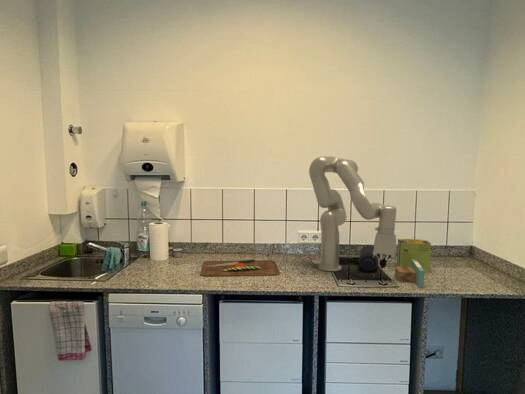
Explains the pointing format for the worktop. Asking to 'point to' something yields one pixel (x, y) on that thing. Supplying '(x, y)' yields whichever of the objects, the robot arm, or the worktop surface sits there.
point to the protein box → (414, 253)
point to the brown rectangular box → (405, 274)
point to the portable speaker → (368, 259)
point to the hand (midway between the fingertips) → (382, 267)
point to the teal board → (418, 273)
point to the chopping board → (239, 268)
